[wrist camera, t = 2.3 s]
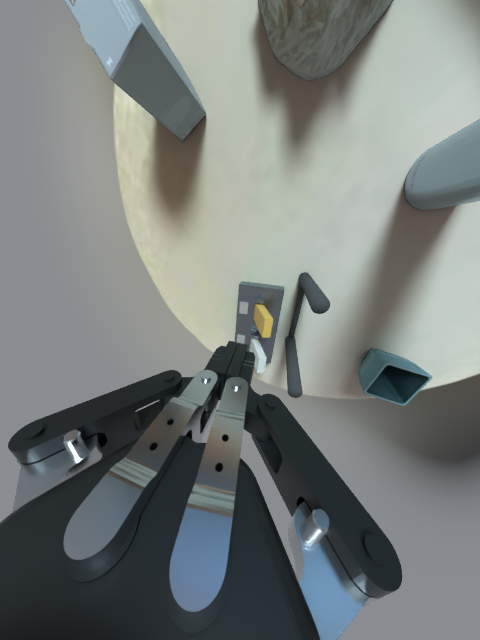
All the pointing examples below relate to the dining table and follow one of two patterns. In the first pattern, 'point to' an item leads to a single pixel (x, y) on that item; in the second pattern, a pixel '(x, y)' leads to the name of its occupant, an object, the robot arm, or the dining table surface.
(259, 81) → the dining table surface
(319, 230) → the dining table surface
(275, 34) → the jagged rock sculpture
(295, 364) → the cable posts
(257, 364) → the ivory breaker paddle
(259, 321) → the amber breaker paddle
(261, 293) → the strip
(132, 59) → the skincare box
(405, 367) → the flower pot
